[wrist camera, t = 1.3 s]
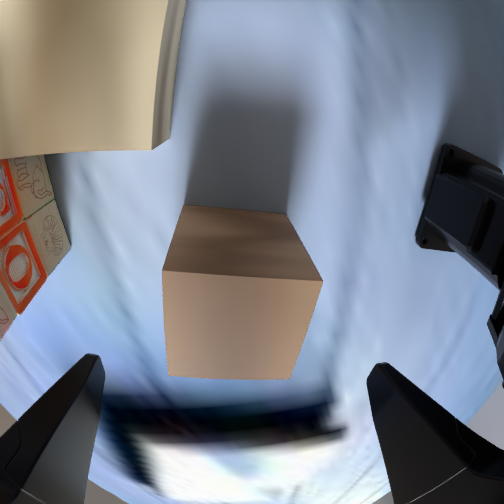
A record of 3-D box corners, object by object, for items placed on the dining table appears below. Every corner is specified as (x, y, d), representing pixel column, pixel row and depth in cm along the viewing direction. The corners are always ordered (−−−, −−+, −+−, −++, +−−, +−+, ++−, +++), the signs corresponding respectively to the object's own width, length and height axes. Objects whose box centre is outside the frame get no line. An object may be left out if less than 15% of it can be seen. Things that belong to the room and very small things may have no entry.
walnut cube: (286, 213, 14) (323, 281, 9) (269, 296, 17) (289, 379, 11) (183, 204, 14) (162, 270, 8) (180, 290, 16) (168, 375, 11)
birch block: (194, -32, 8) (186, -72, 5) (171, 137, 12) (151, 150, 9) (35, -4, 7) (-5, -19, 3) (18, 145, 11) (-28, 164, 8)
